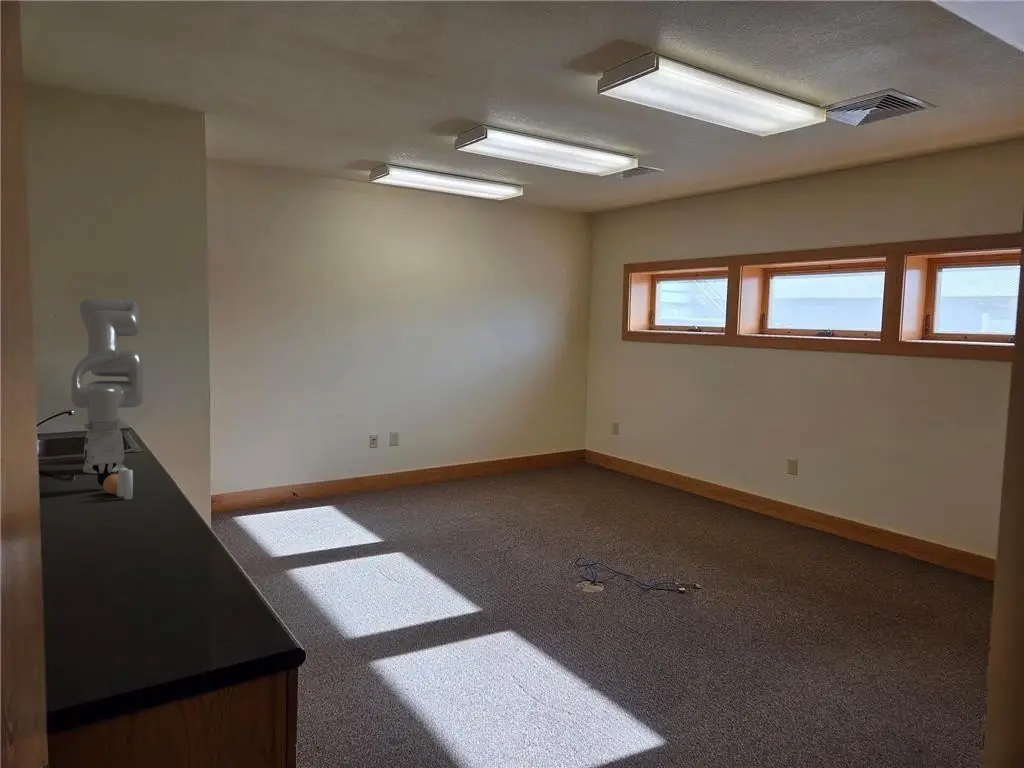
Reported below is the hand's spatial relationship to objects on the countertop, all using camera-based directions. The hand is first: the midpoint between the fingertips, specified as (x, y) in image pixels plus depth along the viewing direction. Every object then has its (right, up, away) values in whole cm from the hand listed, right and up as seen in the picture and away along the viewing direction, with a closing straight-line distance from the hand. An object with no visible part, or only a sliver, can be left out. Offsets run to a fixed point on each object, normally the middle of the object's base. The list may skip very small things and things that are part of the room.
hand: (103, 484), depth 207 cm
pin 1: (+9, -2, -7) cm, 11 cm away
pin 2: (+13, -3, -9) cm, 16 cm away
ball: (+6, +1, -5) cm, 8 cm away
